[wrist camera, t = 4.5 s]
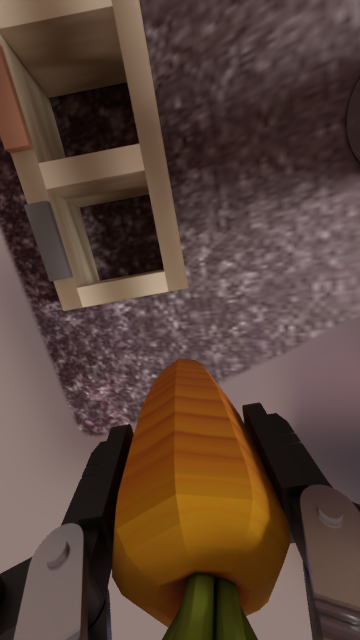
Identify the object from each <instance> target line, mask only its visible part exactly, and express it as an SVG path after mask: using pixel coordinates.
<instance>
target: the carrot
mask: <svg viewBox="0 0 360 640" xmlns="http://www.w3.org/2000/svg"><path fill="white" fill-rule="evenodd" d="M290 542H291V539H290V533H289V527H288V521H287V518H286V515H285V513H284V511H283V509H282V506H281V504H280V501H279V499H278V497H277V494H276V492H275V490H274V488H273V485H272V483H271V481H270V478H269V476H268V474H267V472H266V469H265V467H264V465H263V462H262V460H261V458H260V456H259V453H258V451H257V449H256V447H255V445H254V443H253V441H252V439H251V437H250V435H249V433H248V431H247V429H246V427H245V425H244V423H243V421H242V419H241V417H240V415H239V413H238V412H237V411H236V409H235V408H234V406H233V404H232V403H231V402H230V400H229V399H228V397H227V396H226V395H225V393H224V392H223V390H222V389H221V388H220V386H219V385H218V384H217V383H216V381H215V380H214V379H213V378H212V376H211V375H210V374H209V373H208V371H207V370H206V369H205V368H204V366H203V365H202V364H200V363H199V362H197V361H195V360H189V359H178V360H177V361H176V362H174V363H173V364H171V365H170V366H169V367H167V368H166V369H165V370H164V371H163V372H162V373H161V374H159V376H158V377H157V379H156V381H155V382H154V384H153V386H152V387H151V389H150V391H149V393H148V396H147V398H146V400H145V402H144V404H143V406H142V409H141V413H140V416H139V419H138V422H137V426H136V429H135V432H134V436H133V439H132V443H131V447H130V450H129V454H128V458H127V462H126V465H125V469H124V473H123V477H122V481H121V484H120V488H119V492H118V498H117V505H116V515H115V527H114V540H113V552H112V577H113V579H114V581H115V583H116V585H117V587H118V588H119V590H120V592H121V594H122V595H123V596H124V597H126V598H127V599H129V600H130V601H131V602H133V603H134V604H136V605H137V606H138V607H140V608H141V609H143V610H144V611H146V612H147V613H148V614H150V615H151V616H153V617H154V618H155V619H157V620H158V621H160V622H161V623H163V624H164V625H165V626H167V627H169V628H168V630H167V632H166V633H165V635H164V637H163V639H162V640H258V639H257V637H256V635H255V633H254V632H253V629H252V627H251V625H250V624H249V621H248V619H247V618H246V616H247V615H249V614H252V613H254V612H256V611H258V610H260V609H261V608H262V607H263V606H264V605H265V604H266V603H267V602H268V600H269V597H270V595H271V593H272V590H273V588H274V586H275V583H276V581H277V578H278V576H279V573H280V571H281V568H282V566H283V563H284V560H285V557H286V554H287V551H288V548H289V545H290Z"/></svg>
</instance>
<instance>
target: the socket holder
mask: <svg viewBox="0 0 360 640" xmlns="http://www.w3.org/2000/svg"><path fill="white" fill-rule="evenodd" d="M122 83H128V88H129V93H130V98H131V103H132V108H133V113H134V118H135V124H136V129H137V134H138V139H139V144H135V145H129V146H124V147H119V148H114V149H109V150H104V151H99V152H94V153H88V154H83V155H78V156H73V157H68V158H66V157H65V153H64V149H63V146H62V142H61V139H60V135H59V131H58V128H57V124H56V121H55V117H54V113H53V110H52V106H51V103H50V99H49V98H51V97H56V96H61V95H66V94H71V93H76V92H81V91H86V90H91V89H96V88H101V87H106V86H111V85H117V84H122ZM0 136H1V139H2V142H3V145H4V148H5V150H6V151H8V152H9V153H11V156H12V159H13V162H14V165H15V168H16V171H17V174H18V177H19V180H20V183H21V186H22V189H23V192H24V195H25V198H26V201H27V204H26V205H24V207H25V210H26V213H27V216H28V219H29V222H30V225H31V228H32V231H33V234H34V237H35V240H36V243H37V246H38V249H39V252H40V255H41V258H42V260H43V263H44V266H45V269H46V272H47V275H48V278H49V281H53V282H54V285H55V288H56V291H57V294H58V297H59V300H60V303H61V305H62V308H63V311H67V310H72V309H77V308H83V307H88V306H93V305H99V304H104V303H109V302H115V301H120V300H126V299H131V298H136V297H142V296H147V295H152V294H158V293H163V292H168V291H174V290H179V289H185V288H188V285H187V279H186V273H185V267H184V261H183V256H182V250H181V244H180V238H179V232H178V226H177V221H176V215H175V209H174V203H173V197H172V191H171V185H170V180H169V174H168V168H167V162H166V156H165V150H164V144H163V139H162V133H161V127H160V121H159V115H158V109H157V104H156V98H155V92H154V86H153V80H152V74H151V68H150V63H149V57H148V51H147V45H146V39H145V33H144V27H143V22H142V16H141V10H140V4H139V0H0ZM148 194H149V195H150V200H151V205H152V210H153V215H154V221H155V226H156V231H157V236H158V241H159V246H160V251H161V256H162V261H163V266H164V269H160V270H155V271H149V272H144V273H139V274H133V275H128V276H123V277H117V278H112V279H107V280H101V281H100V279H99V276H98V272H97V269H96V265H95V261H94V258H93V254H92V251H91V247H90V243H89V240H88V236H87V232H86V229H85V225H84V222H83V218H82V214H81V211H80V207H86V206H91V205H96V204H101V203H106V202H112V201H117V200H122V199H127V198H132V197H138V196H143V195H148Z"/></svg>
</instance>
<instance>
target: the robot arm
mask: <svg viewBox="0 0 360 640" xmlns="http://www.w3.org/2000/svg"><path fill="white" fill-rule="evenodd" d="M347 134H348V140H349V144H350V146H351V148H352V151H353V153H354V155H355V156H356V157H357V159H358V160H359V162H360V78H359V80H358V82H357V84H356V86H355V88H354V90H353V93H352V96H351V99H350V102H349V107H348V112H347ZM242 408H243V417H244V425H245V427H246V429H247V431H248V433H249V435H250V437H251V439H252V441H253V443H254V445H255V447H256V449H257V451H258V453H259V456H260V458H261V460H262V462H263V465H264V467H265V469H266V472H267V474H268V476H269V478H270V481H271V483H272V485H273V488H274V490H275V492H276V494H277V497H278V499H279V501H280V504H281V506H282V509H283V511H284V513H285V515H286V518H287V521H288V527H289V533H290V539H291V542H290V543H296V545H297V548H298V550H299V552H300V555H301V557H302V560H303V572H304V580H305V587H306V595H307V602H308V610H309V617H310V624H311V631H312V640H360V505H359V504H356V503H354V502H352V501H351V500H350V499H349V498H348V497H346V496H345V495H343V493H341V492H339V491H338V490H336V489H334V488H333V487H332V486H331V485H330V484H329V482H328V481H327V479H326V478H325V476H324V475H323V474H322V472H321V471H320V469H319V468H318V466H317V465H316V463H315V462H314V460H313V459H312V457H311V456H310V454H309V453H308V451H307V450H306V448H305V447H304V445H303V444H301V441H300V440H299V438H298V437H297V435H296V434H295V433H294V431H293V429H292V428H291V426H290V425H289V423H288V422H287V421H286V420H285V419H283V418H282V417H280V416H279V415H278V414H277V413H274V414H267V413H266V411H265V410H264V408H263V406H262V405H261V404H260V403H253V404H248V405H243V407H242ZM133 436H134V434H133V430H132V427H131V425H130V424H128V425H122V426H116V427H112V428H111V430H110V433H109V436H108V439H107V441H104V442H100V444H99V445H98V446H97V447H96V448H95V450H94V451H93V452H92V453H91V456H90V458H89V460H88V463H87V465H86V468H85V470H84V472H83V475H82V479H81V480H80V482H79V484H78V486H77V489H76V491H75V493H74V496H73V498H72V501H71V503H70V505H69V508H68V510H67V512H66V515H65V517H64V520H63V522H62V524H61V526H60V527H58V528H57V529H55V530H54V531H52V532H51V533H50V534H49V535H48V536H47V537H46V538H45V539H44V540H43V541H42V543H41V544H40V545H39V547H38V548H37V550H36V551H35V553H34V555H33V557H31V558H29V559H27V560H25V561H24V562H22V563H20V564H18V565H16V566H14V567H12V568H10V569H9V570H6V571H4V572H3V573H1V574H0V640H112V633H111V613H110V596H109V590H108V583H109V578H110V573H111V569H112V552H113V540H114V527H115V515H116V505H117V498H118V492H119V488H120V484H121V481H122V477H123V473H124V469H125V465H126V462H127V458H128V454H129V450H130V447H131V443H132V439H133Z"/></svg>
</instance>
